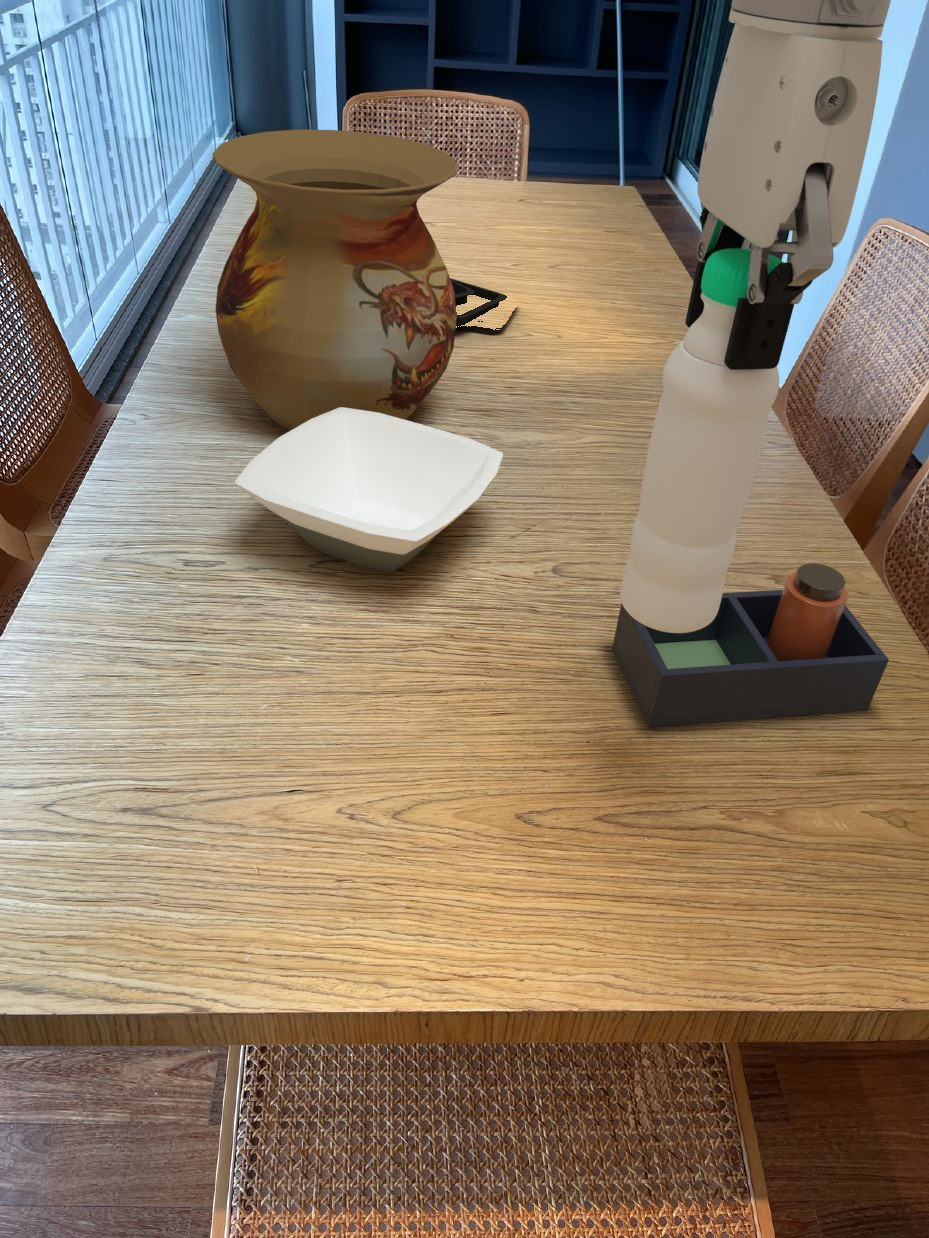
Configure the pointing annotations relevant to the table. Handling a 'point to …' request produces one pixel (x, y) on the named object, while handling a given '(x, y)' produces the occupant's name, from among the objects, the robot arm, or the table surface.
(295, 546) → the table surface
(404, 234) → the vase
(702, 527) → the water bottle
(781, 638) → the spice jar
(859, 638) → the divided storage box
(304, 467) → the bowl
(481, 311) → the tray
